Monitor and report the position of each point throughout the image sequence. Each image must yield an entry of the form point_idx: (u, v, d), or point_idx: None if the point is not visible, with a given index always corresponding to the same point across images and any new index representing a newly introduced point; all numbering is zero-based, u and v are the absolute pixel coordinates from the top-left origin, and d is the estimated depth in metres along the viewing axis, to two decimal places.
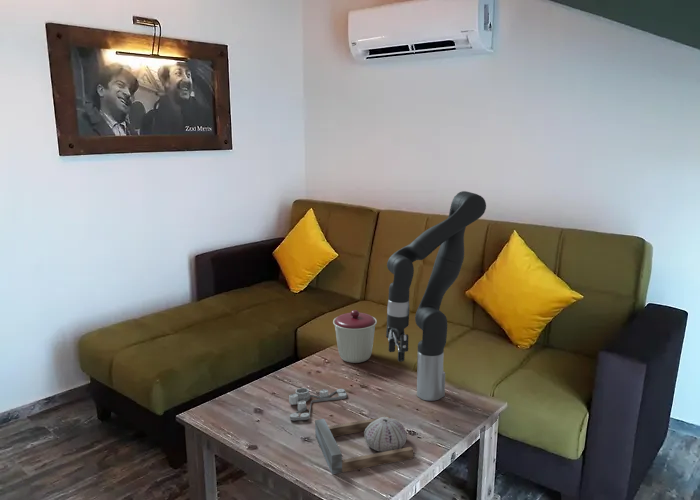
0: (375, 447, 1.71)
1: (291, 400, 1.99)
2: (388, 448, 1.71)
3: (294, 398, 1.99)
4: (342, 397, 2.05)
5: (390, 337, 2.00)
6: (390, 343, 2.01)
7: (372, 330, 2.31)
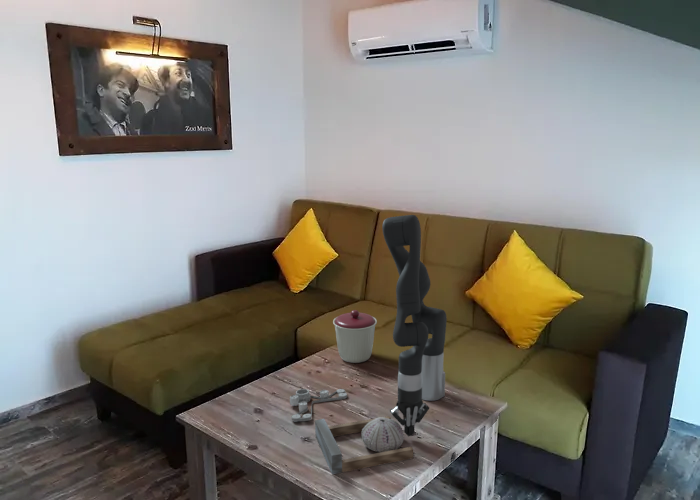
0: (372, 447, 1.71)
1: (292, 401, 1.98)
2: (385, 448, 1.70)
3: (295, 399, 1.98)
4: (343, 397, 2.04)
5: (409, 417, 1.76)
6: None
7: (372, 330, 2.31)
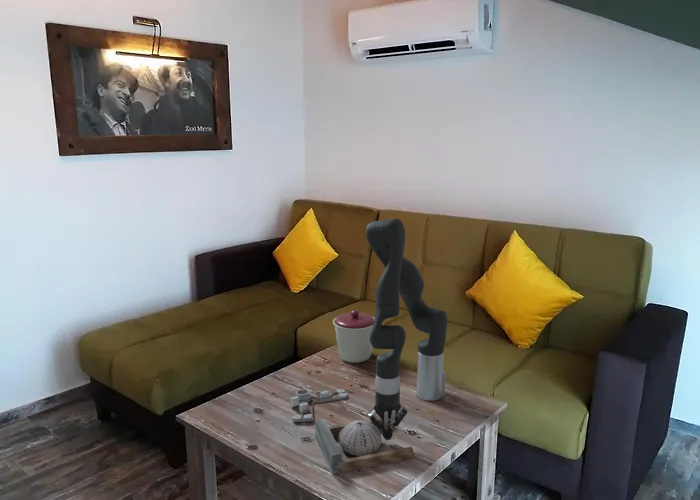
0: (350, 451, 1.69)
1: (292, 402, 1.98)
2: (363, 451, 1.69)
3: (295, 400, 1.98)
4: (343, 397, 2.04)
5: (387, 420, 1.74)
6: None
7: None
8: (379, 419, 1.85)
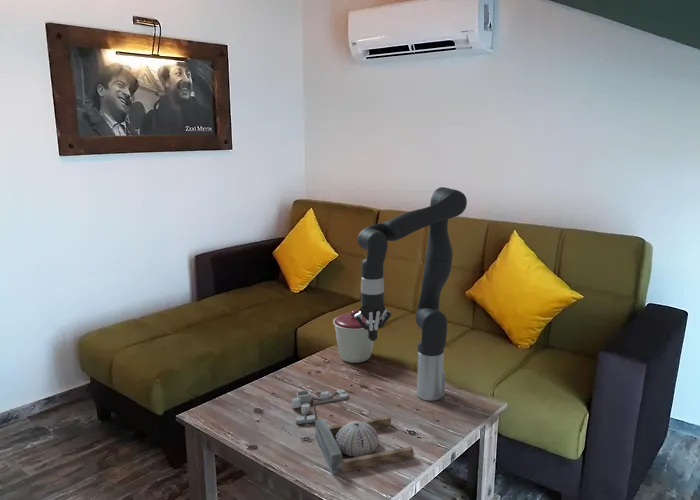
0: (347, 452, 1.69)
1: (294, 403, 1.97)
2: (360, 452, 1.68)
3: (297, 401, 1.97)
4: (344, 398, 2.04)
5: (372, 321, 1.85)
6: None
7: None
8: (379, 419, 1.85)
